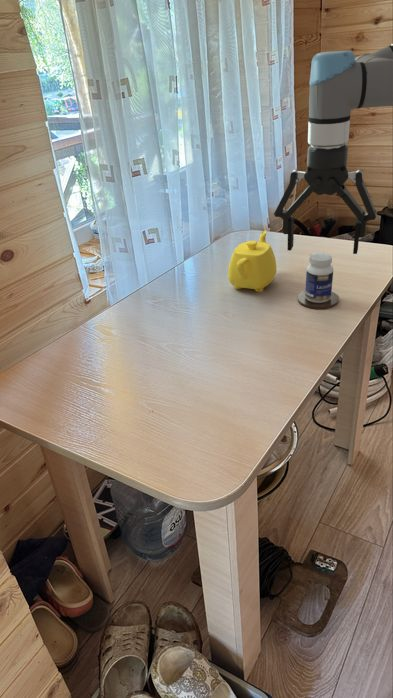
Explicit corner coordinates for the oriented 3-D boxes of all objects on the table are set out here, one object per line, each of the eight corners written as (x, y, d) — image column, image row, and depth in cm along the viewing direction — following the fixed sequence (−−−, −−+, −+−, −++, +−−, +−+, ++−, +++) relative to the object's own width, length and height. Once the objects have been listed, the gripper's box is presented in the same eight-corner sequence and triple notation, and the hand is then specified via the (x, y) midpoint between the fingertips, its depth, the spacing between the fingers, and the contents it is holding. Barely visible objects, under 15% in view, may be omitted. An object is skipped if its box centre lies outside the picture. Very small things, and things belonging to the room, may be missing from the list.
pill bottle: (318, 306, 112) (320, 263, 107) (299, 297, 116) (301, 256, 111) (336, 298, 114) (340, 256, 109) (317, 289, 119) (320, 249, 113)
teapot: (245, 265, 135) (244, 226, 129) (286, 270, 130) (287, 229, 124) (218, 295, 121) (215, 252, 115) (262, 302, 117) (262, 257, 111)
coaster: (340, 292, 118) (340, 290, 118) (336, 311, 111) (336, 308, 110) (301, 289, 121) (301, 287, 120) (294, 307, 114) (294, 304, 113)
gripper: (398, 139, 97) (385, 246, 108) (267, 141, 105) (268, 240, 116) (396, 148, 91) (383, 260, 102) (259, 149, 99) (260, 253, 110)
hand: (322, 250), depth 109 cm, fingers open, 13 cm apart
